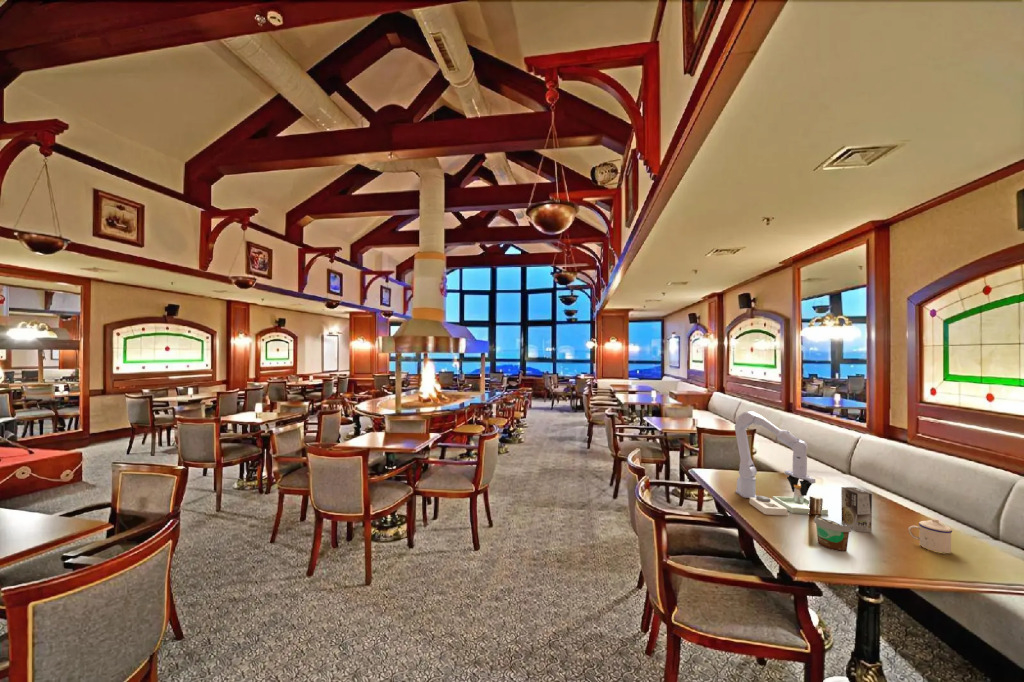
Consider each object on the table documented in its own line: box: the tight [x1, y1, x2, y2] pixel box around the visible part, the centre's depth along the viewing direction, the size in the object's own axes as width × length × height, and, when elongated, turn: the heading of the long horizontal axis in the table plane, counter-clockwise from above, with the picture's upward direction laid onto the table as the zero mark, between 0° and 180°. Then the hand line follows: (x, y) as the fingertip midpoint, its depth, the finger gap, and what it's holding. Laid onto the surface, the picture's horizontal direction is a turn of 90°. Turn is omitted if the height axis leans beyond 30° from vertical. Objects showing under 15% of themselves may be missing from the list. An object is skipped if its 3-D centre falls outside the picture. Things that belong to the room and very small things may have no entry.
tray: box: [772, 495, 829, 516], centre depth 201 cm, size 16×16×2 cm
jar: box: [793, 483, 805, 505], centre depth 201 cm, size 5×5×8 cm
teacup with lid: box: [908, 517, 953, 554], centre depth 162 cm, size 12×9×12 cm
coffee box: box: [840, 486, 873, 533], centre depth 180 cm, size 9×6×16 cm
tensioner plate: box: [749, 495, 788, 516], centre depth 198 cm, size 14×10×4 cm
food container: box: [813, 515, 852, 553], centre depth 160 cm, size 12×6×10 cm, turn 22°
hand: (799, 493), depth 202 cm, fingers closed on jar, 4 cm apart
